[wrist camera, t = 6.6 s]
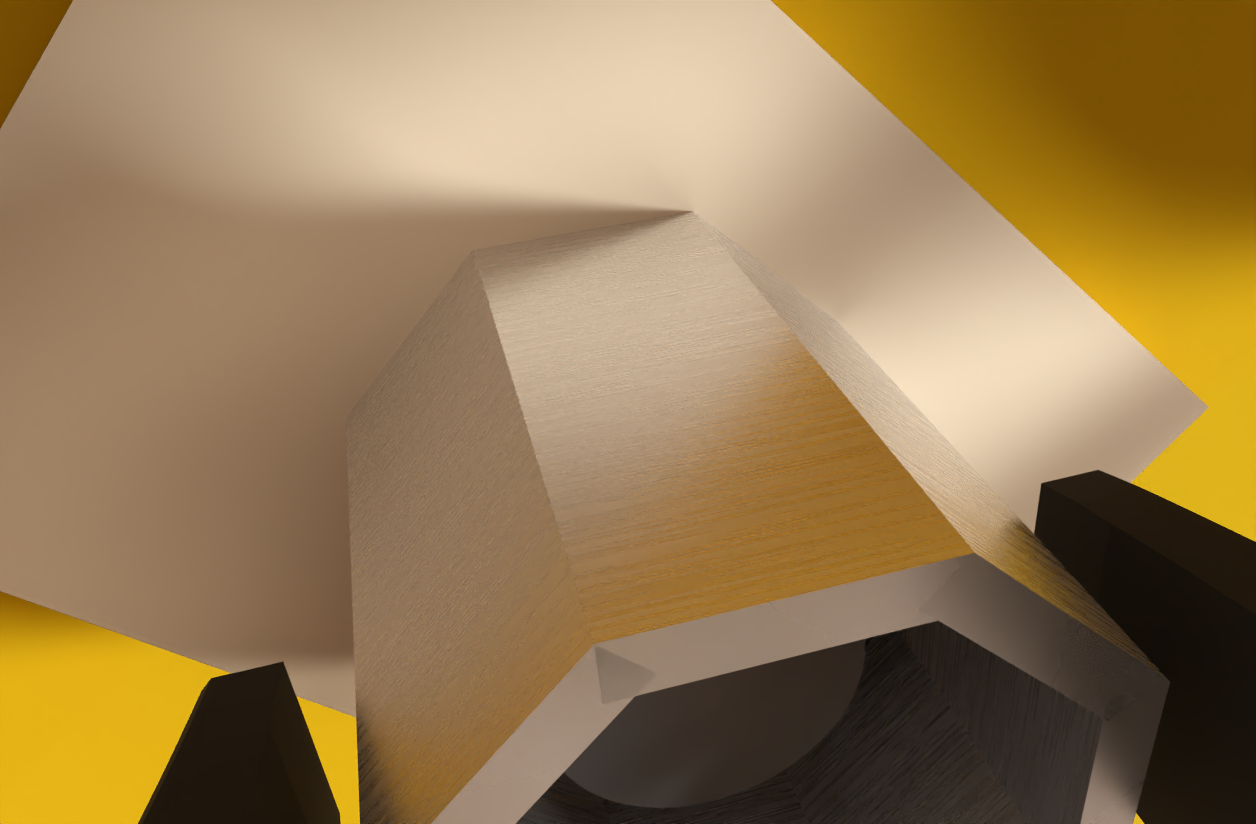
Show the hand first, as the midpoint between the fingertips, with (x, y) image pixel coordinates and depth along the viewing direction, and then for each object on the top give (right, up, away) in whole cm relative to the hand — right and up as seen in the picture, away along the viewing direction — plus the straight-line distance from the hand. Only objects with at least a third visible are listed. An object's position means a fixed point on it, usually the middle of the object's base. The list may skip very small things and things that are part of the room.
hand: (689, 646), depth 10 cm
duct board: (-1, +2, +4) cm, 4 cm away
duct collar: (-1, +2, +3) cm, 3 cm away
